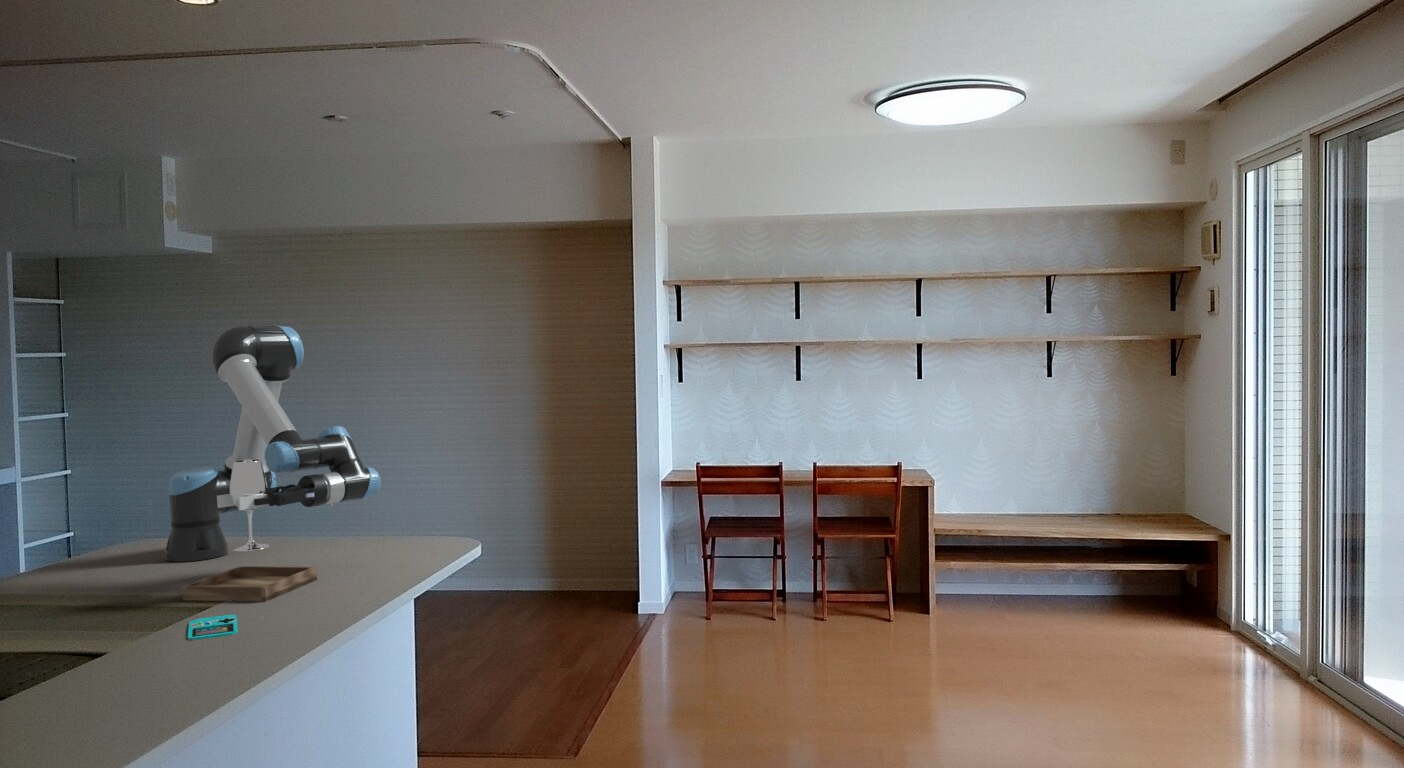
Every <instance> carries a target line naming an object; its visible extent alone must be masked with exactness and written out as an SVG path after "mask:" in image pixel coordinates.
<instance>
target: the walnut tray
mask: <svg viewBox="0 0 1404 768" xmlns="http://www.w3.org/2000/svg"><path fill="white" fill-rule="evenodd" d="M317 580H318V567H317V566H249V565H248V566H246V565H244V566H243V565H242V566H240V565H239V566H237V567H234V568H231V569H228V570H225V571H223V572H220V573H216V574H213V575H210V576H208V577H206V578H201V579H200V580H197V581H193V582H191V583H188V584H185V585H181V600H182V601H211V602H213V601H216V602H218V601H220V602H221V601H222V602H224V601H225V602H229V601H230V602H233V601H232V600H253V601H252V602H267V600H268V601H270V600H272V599H275V598H278V597H279V596H282V595H284V593H285V594H287V593H289V592H291V591H294V590H296V589H299V588H301V587H303V585H304V586H306V585H308V584H311V583H312V582H315V581H317Z"/></svg>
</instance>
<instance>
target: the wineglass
mask: <svg viewBox="0 0 1404 768" xmlns="http://www.w3.org/2000/svg"><path fill="white" fill-rule="evenodd" d="M267 493H268V489H267V482H266V477H265V473H264V469H263V466H262V463H261V460H260V459H248V460H238V461H234V464H233V469H232V474H231V481H230V498H231V500H232V502H233V503H234V505H235V506H237V507H238V498H241V497H248V496H255V495H262V494H267ZM257 509H258V508H252V509H246V510H244V511H245V512H246V515H247V522H248V541H247V542H246V544H243V545H239V546H236V547H234V548H232V551H234V552H237V553H239V552H240V553H241V552H245V553H247V552H256V551H261V550H265V549H267V548H270V544H269V543H257V542H256V541H255V540H254V537H253V520H252V519H253V512H254V511H255V510H257Z"/></svg>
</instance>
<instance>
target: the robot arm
mask: <svg viewBox="0 0 1404 768" xmlns="http://www.w3.org/2000/svg"><path fill="white" fill-rule="evenodd" d="M304 354H305V350H304V344H303V341H302V339H301V337H300V335H299V333H298V332H297V331H296V330H295V329H294V328H293V327H290V326H282V325H281V326H280V325H275V324H274V325H235V326H232V327H229V328H226V329H225V330H223V331H222V332H221V333H219V335H218V336H217V337H216V338H215V340H214V342H213V344H212V347H211V352H210V357H211V362H212V363H211V365H212V367H213V370H214V372H215V373H216V375H217V376H218V378H219V379H220V380H221V381H222V382H224V383H227V384H228V386H229V387H230V389H231V390H232V393H234V395H235V397H236V398H237V400H238V401H239V403H240V404H241V406H242V407H241V413H240V418H239V422H238V427H237V433H236V437H235V441H234V442H235V443H234V448H233V452H232V455H230V456H229V457H227V459H225V461H224V466H223V470H218V467H216V466H211V465H210V466H200V467H194V468H189V469H185V470H182V471H179V472H176V473H174V474H173V475H171V477H170V479H169V486H168V494H169V511H170V512H169V513H170V533H169V537H168V540H167V543H166V546H165V547H166V548H165V550H164V560H165V561H167V562H177V563H178V562H194V561H202V560H210V559H215V558H220V557H223V556H226V555H228V553H229V544H228V542H227V540H226V537H225V534H224V532H223V530H222V527H221V522H220V521H221V520H220V519H221V518H220V514H224V513H230V512H236V511H245V510H246V509H252V508H257V509H258V508H264V507H268V506H270V507H273V506H277V507H282V506H285V505H291V504H296V503H301V505H302V506H303V507H306V508H312V507H319V506H322V505H328V506H329V507H333V506H334V503H335V504H336V503H342V502H347V501H356V500H362V499H367V498H371V497H374V496H375V495H377V494H378V492H379V490H380V488H381V476H380V474H379V472H378V471H377V470H376V469H375V468H373V467H368V466H367V467H365V466H364V464H363V462H362V460H361V459H360V456H359V455H358V452H357V450H356V447H355V444H354V441H353V438H352V437H351V436H350V434H349V432H348V431H347V429H346V428H345V427H344V426H341V425H334V426H332V427H328V428H324V429H323V430H322V431H321V432H319V433H318V435H317V437H316V438H315V437H314V438H304V439H303V438H302V437H301V435H300V434H299V432H298V431H297V429H296V428H295V426H294V425H293V423H292V421H291V420H290V419H289V417H288V415H287V414H286V412H285V411H284V409H283V408H282V405H280V403H279V401H280V396H281V391H282V387H283V386H282V385H283V384H284V383H285V382H287V381H289V379H290V378H291V377H290V376H291V372H292V370H296V369H298V368H299V367H300V366H302V364H303V361H304ZM248 459H260V460H261V463H262V466H263V469H264V473H265V477H266V482H267V489H268V493H267V494H262V495H255V496H248V497H241V498H238V507H237V506H235V505H234V503H233V502H232V500H231V498H230V481H231V474H232V469H233V464H234V461H238V460H248ZM324 468H329V471H330V472H323V473H318V474H311V475H310V474H308V475H304V476H302V477H300V479H299V480H298V482H297V485H296V484H294V483H293V484H287V485H279V486H277V481H276V478H277V477H276V474H285V473H287V474H288V473H289V474H291V473H293V472H301V471H307V470H308V471H309V470H318V469H324Z"/></svg>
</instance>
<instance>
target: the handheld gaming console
mask: <svg viewBox="0 0 1404 768" xmlns="http://www.w3.org/2000/svg"><path fill="white" fill-rule="evenodd" d="M226 626H229V629H230V630H227V627H226ZM217 627H220V628H222V629H220V630H219V631H218V632H212V633H210V632H211V631H213V630H212V628H217ZM223 627H225V628H223ZM203 629H207V630H208V631H207V632H206V633H205V634H197V631H196V630H200V631H201V630H202V631H203ZM210 629H211V630H210ZM222 630H227V631H222ZM187 631H188V633H187V640H188V639H198V640H203V639H202V638H206V639H211V637H213V638H218V637H217V636H220V637H225V636H226V637H227V636H232V635H236V634H238V633H237V632H239V631H238V620H237V615H236V614H226V615H217V616H211V617H202V618H197V619H194V620H190V621H189V622H188V630H187ZM207 633H209V634H207Z"/></svg>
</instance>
